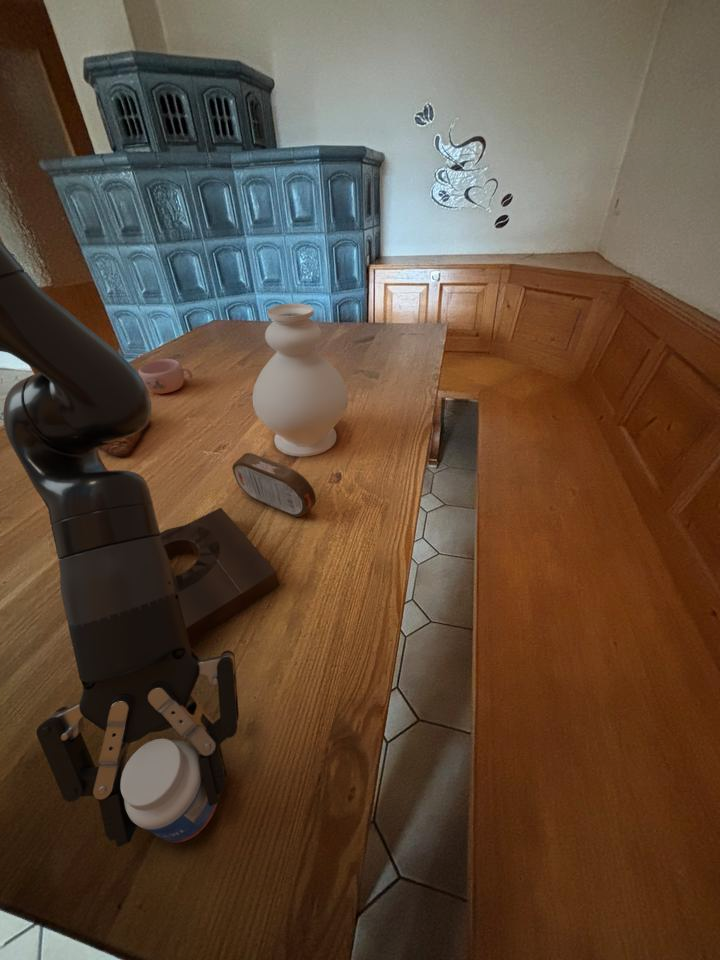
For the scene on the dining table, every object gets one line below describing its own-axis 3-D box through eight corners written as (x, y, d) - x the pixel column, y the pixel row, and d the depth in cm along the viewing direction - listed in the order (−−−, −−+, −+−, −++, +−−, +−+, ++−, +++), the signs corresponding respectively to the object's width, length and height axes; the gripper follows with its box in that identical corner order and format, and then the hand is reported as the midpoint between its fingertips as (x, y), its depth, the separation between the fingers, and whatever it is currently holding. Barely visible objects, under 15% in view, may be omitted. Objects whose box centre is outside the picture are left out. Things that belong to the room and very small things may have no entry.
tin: (318, 514, 61) (314, 473, 56) (307, 527, 59) (301, 485, 54) (248, 484, 67) (238, 444, 62) (235, 494, 65) (224, 454, 60)
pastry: (177, 421, 84) (165, 387, 79) (124, 461, 73) (106, 424, 68) (116, 410, 88) (100, 377, 83) (57, 446, 77) (35, 411, 72)
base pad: (138, 678, 42) (127, 665, 40) (98, 581, 52) (88, 567, 50) (279, 585, 51) (276, 571, 49) (222, 518, 61) (218, 504, 59)
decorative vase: (366, 432, 80) (365, 304, 64) (311, 476, 69) (294, 335, 53) (301, 409, 88) (287, 290, 72) (242, 445, 77) (210, 314, 61)
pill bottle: (141, 832, 32) (87, 804, 26) (179, 757, 36) (141, 718, 30) (199, 853, 31) (158, 830, 25) (232, 774, 35) (203, 737, 29)
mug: (140, 399, 92) (131, 376, 89) (151, 381, 100) (143, 359, 96) (192, 395, 94) (185, 372, 90) (199, 378, 101) (192, 356, 98)
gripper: (-15, 647, 25) (38, 914, 24) (212, 580, 29) (267, 806, 28) (46, 622, 32) (90, 825, 31) (222, 570, 36) (266, 750, 35)
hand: (173, 815), depth 30 cm, fingers open, 5 cm apart
